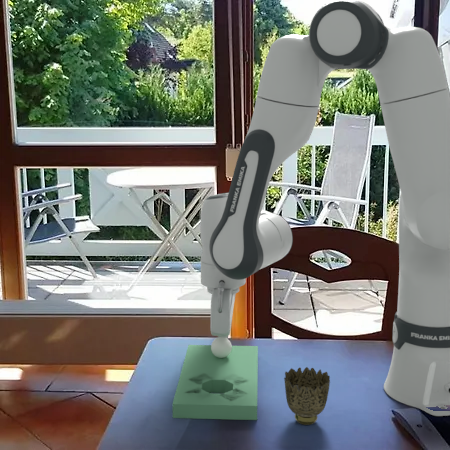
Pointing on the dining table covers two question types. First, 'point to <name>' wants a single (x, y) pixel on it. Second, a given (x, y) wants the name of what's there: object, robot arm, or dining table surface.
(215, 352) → the ball
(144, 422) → the dining table surface
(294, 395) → the cup
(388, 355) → the dining table surface
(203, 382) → the putting mat
